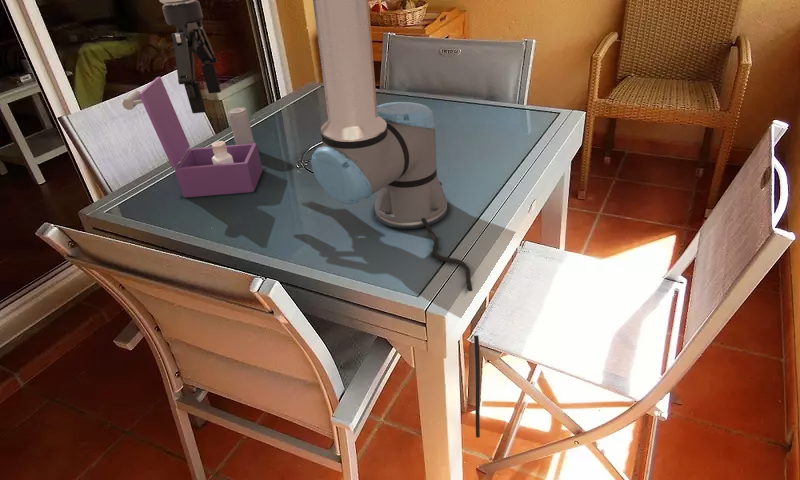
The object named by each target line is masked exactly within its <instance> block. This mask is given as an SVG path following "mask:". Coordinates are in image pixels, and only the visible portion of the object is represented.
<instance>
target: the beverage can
mask: <svg viewBox="0 0 800 480" xmlns="http://www.w3.org/2000/svg"><path fill="white" fill-rule="evenodd" d="M227 115H228V119H229V123H230V127H231V131H232V136H233V140H234V143H235V145H240V144H252V143H255V140H254V136H253V132H252V131H253V130H252V127H251V122H250V119H249V113H248V110H247V108H246V107H243V106H236V107H233V108H230V109H229V110H228V112H227Z"/></svg>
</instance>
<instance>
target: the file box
mask: <svg viewBox="0 0 800 480" xmlns="http://www.w3.org/2000/svg"><path fill="white" fill-rule="evenodd" d="M226 148H227V153H229V154H230V155H231V156H232V158H233V162H234V163H229V164H217V165H213V161H212V157H213V156H215V155H214V153H213V149H212V146H207V147H206V146H205V147H192V148H189V149H188V150H187V152H186V153H185V155H184V156H183V157H182V159H181V160H180V162H179V163H178V164H177V166H176V167H174V172H175V175H176V178H177V182H178V184H179V188H180V190H181V195H182V197H183V198H198V197H210V196H221V195H233V194H245V193H254V192H255V191H256V189H257V186H258V183H259V181H260V178H261V175H262V173H263V171H264V169H263V165H262V160H261V156H260V152H259V148H258V144H257V142H254V143H252V144H240V145H236V144H230V145H226Z"/></svg>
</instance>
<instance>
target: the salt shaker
mask: <svg viewBox="0 0 800 480" xmlns="http://www.w3.org/2000/svg"><path fill="white" fill-rule="evenodd" d="M226 146H227V144H226V142H225V141H223V140H218V141H214V142H212V143H211V147H212V149H213V153H214V155H215V156H213V157H212V161H213V165H217V164H229V163H234V162H233V158H232V156H231V155H230V154H229V153H227V148H226Z"/></svg>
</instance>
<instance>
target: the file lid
mask: <svg viewBox="0 0 800 480" xmlns="http://www.w3.org/2000/svg"><path fill="white" fill-rule="evenodd" d="M121 104H122V107H123V108H124V109H125V110H128V111H132V110H133V109H134V108H135V107H137V105H141V104H143V107H144V109H145V111H146V113H147V115H148V118H149V120H150V122H151V125H152V127H153V129H154V131H155V133H156V135H157V137H158V140H159V142H160V144H161V147H162V148H163V151H164V153H165V156H166V157H167V160H168V162H169V164H170V166H171V168H172V169H175V168H176V167H177V166H178V164H179V163H180V161H181V160H182V158H183V157H184V156H185V154H186V153H187V151H188V150H189V149H190V148H191V145H190V143H189V140H188V138H187V136H186V134H185V131H184V129H183V126H182V124H181V121H180V119H179V117H178V115H177V112H176V110H175V108H174V106H173V103H172V100H171V99H170V96H169V94H168V91H167V89H166V87H165V85H164V82H163V79H162V77H161V76H157V77H156V78H154V79H153V80H152V81H151V82H150V83H149V84H148V85H146V86H145V88H143V89H142V90H141V91H140V90H134V91H133V92H131V93H130V94H129V95H128V96H127V97H126V98H125V99H124V100H123V101H122V103H121Z"/></svg>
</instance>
